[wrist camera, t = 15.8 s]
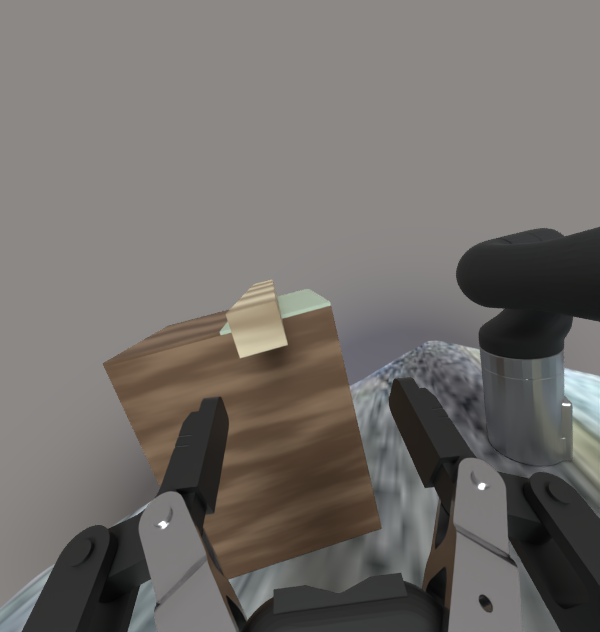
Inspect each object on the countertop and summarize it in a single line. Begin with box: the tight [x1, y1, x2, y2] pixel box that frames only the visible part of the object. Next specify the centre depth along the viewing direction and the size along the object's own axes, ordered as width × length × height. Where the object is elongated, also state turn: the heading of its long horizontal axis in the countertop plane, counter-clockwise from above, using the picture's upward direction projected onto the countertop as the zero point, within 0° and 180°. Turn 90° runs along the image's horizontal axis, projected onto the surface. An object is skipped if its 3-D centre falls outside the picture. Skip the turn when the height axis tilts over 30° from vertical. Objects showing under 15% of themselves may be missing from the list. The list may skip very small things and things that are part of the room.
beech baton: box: [226, 280, 288, 358], centre depth 28 cm, size 26×3×3 cm, turn 8°
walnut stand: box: [103, 289, 381, 579], centre depth 37 cm, size 16×24×32 cm, turn 97°
